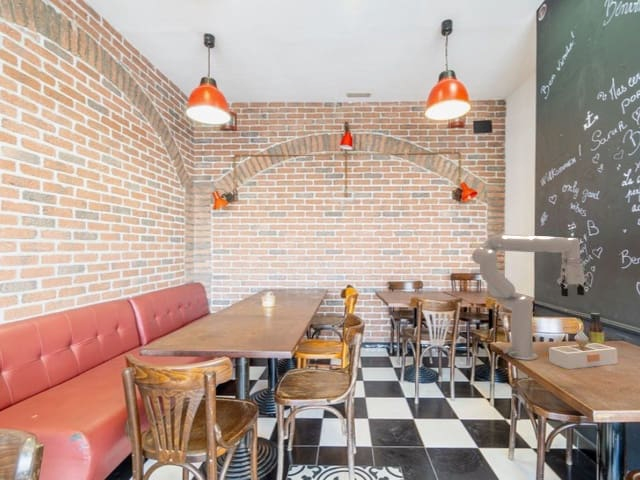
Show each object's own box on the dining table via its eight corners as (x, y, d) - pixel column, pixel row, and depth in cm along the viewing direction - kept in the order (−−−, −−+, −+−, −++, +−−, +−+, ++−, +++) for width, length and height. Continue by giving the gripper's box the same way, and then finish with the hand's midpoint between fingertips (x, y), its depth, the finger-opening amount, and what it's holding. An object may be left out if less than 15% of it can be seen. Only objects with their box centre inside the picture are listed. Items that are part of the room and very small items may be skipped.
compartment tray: (569, 369, 155) (568, 354, 155) (549, 362, 165) (548, 347, 166) (619, 364, 160) (618, 348, 161) (596, 357, 171) (595, 343, 171)
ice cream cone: (590, 363, 160) (589, 330, 160) (575, 361, 162) (574, 329, 163) (589, 359, 164) (587, 327, 165) (574, 357, 167) (573, 326, 168)
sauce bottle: (608, 353, 176) (606, 314, 176) (594, 353, 177) (592, 314, 178) (601, 350, 182) (599, 312, 183) (587, 349, 183) (585, 312, 184)
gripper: (563, 262, 170) (565, 297, 170) (592, 261, 174) (594, 295, 173) (550, 262, 178) (552, 295, 177) (578, 261, 181) (580, 293, 181)
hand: (572, 295), depth 175 cm, fingers open, 9 cm apart
